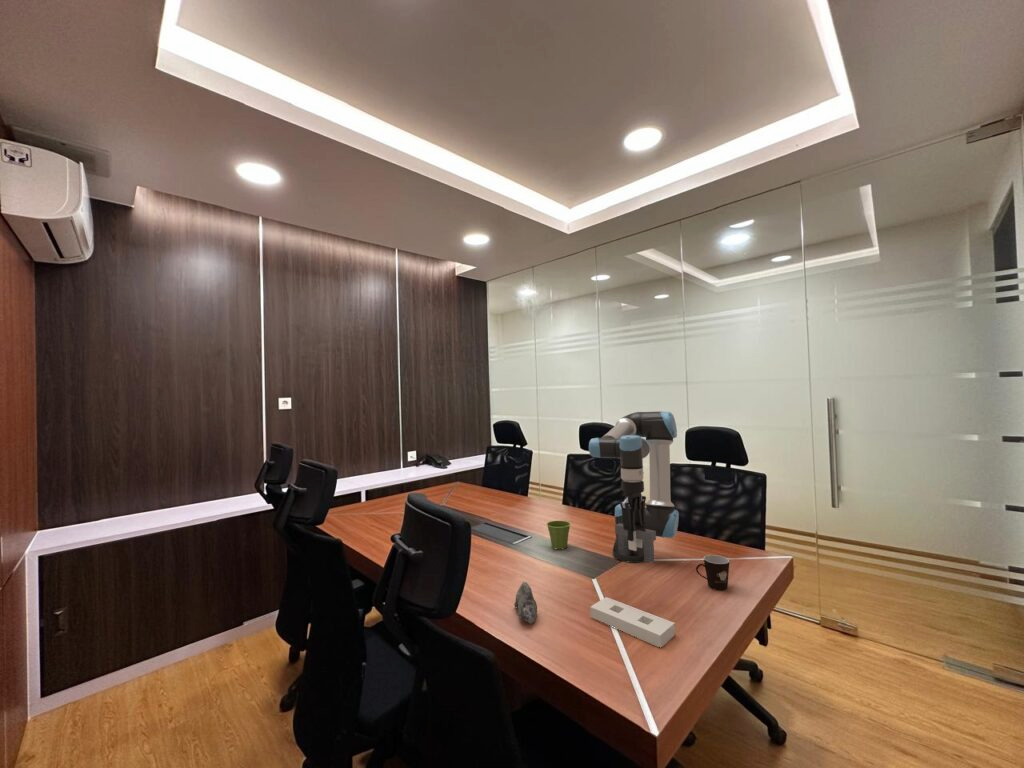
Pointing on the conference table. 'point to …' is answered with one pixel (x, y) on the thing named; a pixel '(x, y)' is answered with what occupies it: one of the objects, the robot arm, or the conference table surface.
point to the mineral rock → (526, 603)
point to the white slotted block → (634, 621)
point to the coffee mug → (716, 571)
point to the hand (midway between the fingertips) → (635, 548)
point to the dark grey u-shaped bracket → (641, 534)
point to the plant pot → (559, 533)
